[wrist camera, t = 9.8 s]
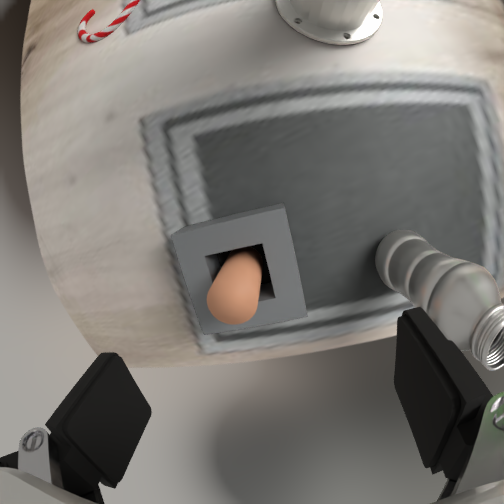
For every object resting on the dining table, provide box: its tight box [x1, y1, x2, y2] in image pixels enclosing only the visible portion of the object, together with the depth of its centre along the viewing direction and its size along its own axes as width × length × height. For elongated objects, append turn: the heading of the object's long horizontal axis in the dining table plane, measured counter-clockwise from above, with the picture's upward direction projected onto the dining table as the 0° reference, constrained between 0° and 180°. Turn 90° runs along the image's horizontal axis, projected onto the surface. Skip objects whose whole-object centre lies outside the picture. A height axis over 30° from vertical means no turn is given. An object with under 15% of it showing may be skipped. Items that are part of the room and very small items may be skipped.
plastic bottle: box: [375, 230, 504, 371], centre depth 21 cm, size 6×7×20 cm
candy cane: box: [78, 0, 140, 43], centre depth 23 cm, size 8×1×15 cm
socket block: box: [171, 203, 308, 335], centre depth 30 cm, size 11×11×4 cm
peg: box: [207, 246, 263, 325], centre depth 27 cm, size 4×4×10 cm
